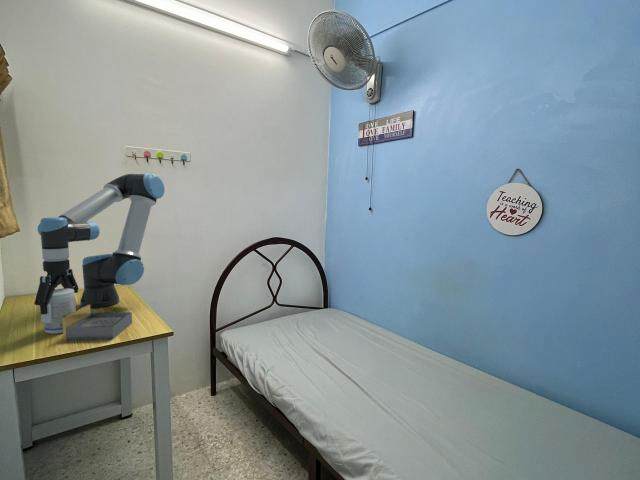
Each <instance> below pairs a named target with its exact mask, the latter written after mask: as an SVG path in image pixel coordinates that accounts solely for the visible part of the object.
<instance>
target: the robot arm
mask: <svg viewBox="0 0 640 480" xmlns="http://www.w3.org/2000/svg"><path fill="white" fill-rule="evenodd" d="M165 190H166V189H165V185H164V182H163V180H162V178H160V176H159V175H157V174H154V173H127V174H124V175H121V176H119V177H117V178H116V177H115V179H113V180H111V181H109V182H107V183H106V184H104V185H103V189H101V190H99V191H97V192H96V193H94V194H92V195H91V196H90V197H88V198H86V199H85V200H83V201H81V202H80V203H78V204H77V205H75V206H73V207H72V208H70V209H69V210H67V211H65V212H63V213H62V214H60V215H58V216H57V217H53V216H51V217H49V216H47V217H43V218H41V219H40V223H39V224H38V226H37V233H38V234H39V236H40V239H41V250H42V251H41V252H42V260H43V261H42V270H43V272H45V273H46V276H45V275H43V276H39V283H38V289H37V293H36V296H35V299H34V303H33V304H34V306H39V309H40V310H39V311H40V318H41V324H44V323H50V322H52V320H51V304H48V303H49V301H50V299H51V297H52V294H53V292H54V290H55V289H57V288H58V286H60V285H61V287H62V289H63V288H70V289H73V290H74V293H75V294H78V293H79V285H78V283H77V281H76V278H75V276H74V273H73V268H70V265H71V264H70V260H69V258H70V250H69V243H72V242H84V241H85V242H86V241H87V242H88V241H92V240H96V239H97V238H98V237H99V235H100V233H101V232H100V226H99V225H98V224H97V223H96V222H94V221H90V220H92V218H94V217H95V216H97V215H98V214H101V212H103V211H104V210H106V209H107V208H108V207H110V206H112V205H114V204H115V203H120V202H121V201H123V200H126V199H129V200H130V205H129V208H128V213H127V216H126V219H125V223H124V226H123V229H122V230H123V231H122V234H121V237H120V241H119V244H118V247H117V250H115V251H113V252H112V253H105V254H96V255H91V256H86V257H84V258H83V259H82V265H81V267H82V278H83V291H82V295H81V298H80V303H79V306H80V308H83V307H84V306H86V305H90V309H101V308H106V307H110V306H114V305H116V304H118V303H119V302H120V295H119V293H118V291H117V289H116V287H115V285H120V286H126V285H127V286H131V285H134V284H136V283H137V282H139V281H140V280H141V278H142V277H143V275H144V272H145V267H144V263H143V261H141V260H142V256H141V255H140V250H141V246H142V242H143V238H144V235H145V231H146V228H147V224H148V221H149V216H150V212H151V210H152V207H153V206H155V205H157V204H156V203H157V200H159V199H161V198H163V196H164V194H165Z"/></svg>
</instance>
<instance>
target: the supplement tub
mask: <svg viewBox="0 0 640 480" xmlns="http://www.w3.org/2000/svg"><path fill="white" fill-rule="evenodd" d="M48 304H51V320H52V322H50V323H43V327H44V332H45V333H46V334H54V335H55V334H56V335H57V334H63V321H62V318H64V317H66V316H68V315H70V314H72V313H73V312H75V311H77V307H76V293H74V290H73V289H70V288H63V287H62V288H55V290H54V292H53V294H52V297H51V299H50V301H49V303H48Z"/></svg>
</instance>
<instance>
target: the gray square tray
mask: <svg viewBox="0 0 640 480" xmlns="http://www.w3.org/2000/svg"><path fill="white" fill-rule="evenodd" d="M62 321H63V333H62V334H63V341H65V342H67V341H92V340H93V341H97V340H98V341H99V340H114V339H115V338H116V337H118V336H119V335H120V334H122V332H124V331H125V330H127V328H128V327H129V326H131V325H132V324H133V313H132V312H131V311H130V312H129V311H128V312H92V311H91V308H90V305H86V306H84V307H83V308H82V307H80V308H79V309H76V311H75V312H73V313H72V314H70V315H68V316H66V317H64V318H62Z"/></svg>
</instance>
